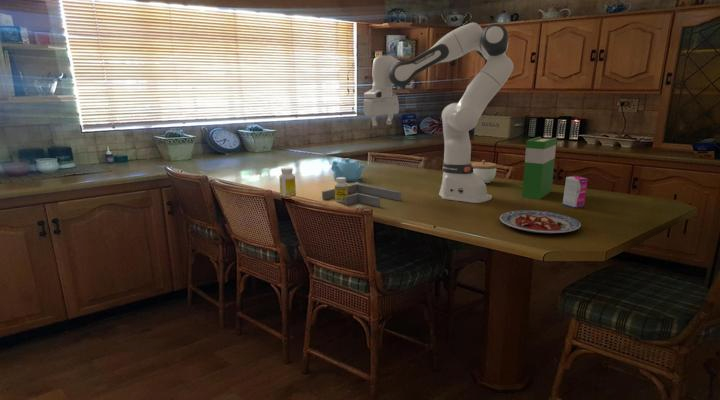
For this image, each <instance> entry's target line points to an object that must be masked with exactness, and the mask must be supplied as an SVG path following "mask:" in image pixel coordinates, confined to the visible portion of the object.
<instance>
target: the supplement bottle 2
mask: <svg viewBox="0 0 720 400" xmlns="http://www.w3.org/2000/svg"><path fill="white" fill-rule="evenodd" d="M335 181H336V182H335V184H334V189H335V198H334V202H335V201H336V202H338V203H344V196H348V195H349V194H348V186H349V184H348V182H346V178H344V177H338V178H336V179H335Z"/></svg>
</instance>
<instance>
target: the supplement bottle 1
mask: <svg viewBox="0 0 720 400" xmlns="http://www.w3.org/2000/svg"><path fill="white" fill-rule="evenodd" d="M280 171H281V174H280V175H279V176H278V177H279V178H278V179H279V180H278V181H279V194H280V196H281V195H291V196H296V197H297V192H296V191H297V189H296V176H295V174H294V173H293V171H294V170H293V167H281V169H280Z"/></svg>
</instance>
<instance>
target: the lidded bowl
mask: <svg viewBox="0 0 720 400" xmlns="http://www.w3.org/2000/svg"><path fill="white" fill-rule="evenodd" d="M470 163H471V165H472V166H476V167H474V168H475V169H473V171H474V172H473V173H475V174H476V175H477V176H478V177H479V178H480V179H481V180H482V181H483V182H484V183H489V184H490V183H491V182H492V181H493V180H494V179H495V177H496V173H497V167H498V165H497V163H494V162H488V161H486V160H485V159H482V160H481V161H473V162H470Z"/></svg>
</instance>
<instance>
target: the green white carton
mask: <svg viewBox="0 0 720 400" xmlns="http://www.w3.org/2000/svg"><path fill="white" fill-rule="evenodd" d="M556 149H557V137H552V138H542V136H538V137H534V138H532V139H528V140H526V144H525V156H524V157H525V158H524V169H523V180H522V181H523V182H522V194H521V197H522V198H526V197H527V198H528V199H535V200H541V199H542V198H545V197H546V196H547V195H550V194H551V192H552V190H553V189H552V188H553V183H554V181H553V179H554V170H555V160H556V152H557V151H556Z"/></svg>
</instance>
